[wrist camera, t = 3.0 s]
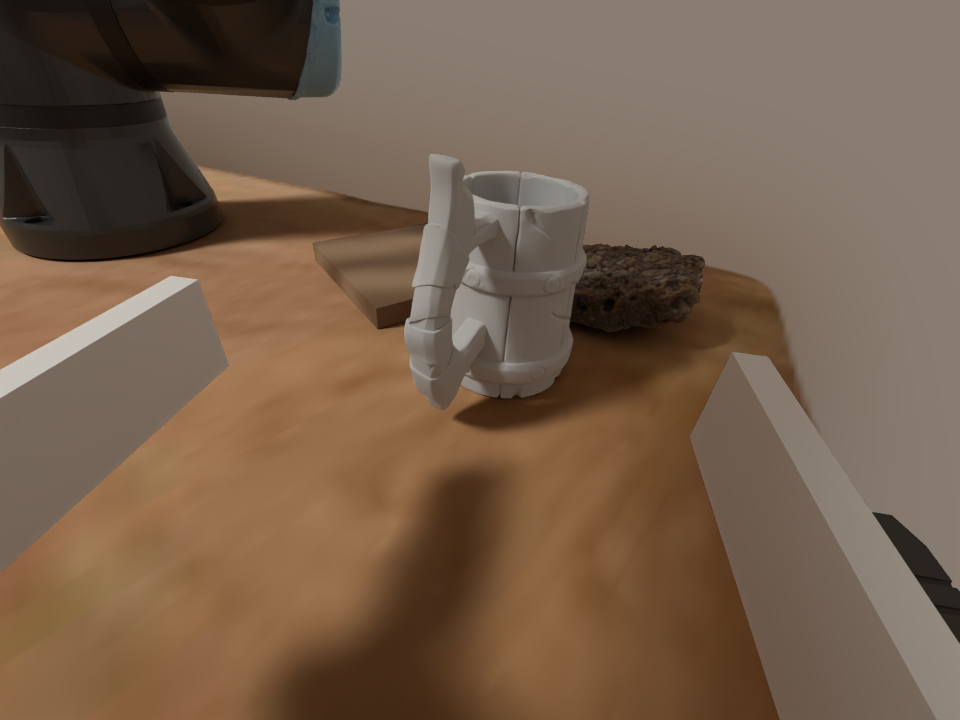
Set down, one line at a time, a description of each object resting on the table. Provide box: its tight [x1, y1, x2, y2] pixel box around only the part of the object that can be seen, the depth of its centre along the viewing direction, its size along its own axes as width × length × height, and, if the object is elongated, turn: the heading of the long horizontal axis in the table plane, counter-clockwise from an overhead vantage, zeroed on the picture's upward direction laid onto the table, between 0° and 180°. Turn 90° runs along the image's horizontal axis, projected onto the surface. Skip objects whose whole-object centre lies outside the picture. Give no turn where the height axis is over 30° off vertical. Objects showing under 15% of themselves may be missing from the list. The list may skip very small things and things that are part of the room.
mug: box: [404, 154, 589, 410], centre depth 20 cm, size 8×12×12 cm, turn 149°
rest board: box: [313, 223, 428, 329], centre depth 33 cm, size 12×14×4 cm
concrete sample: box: [570, 244, 705, 332], centre depth 30 cm, size 12×10×5 cm
